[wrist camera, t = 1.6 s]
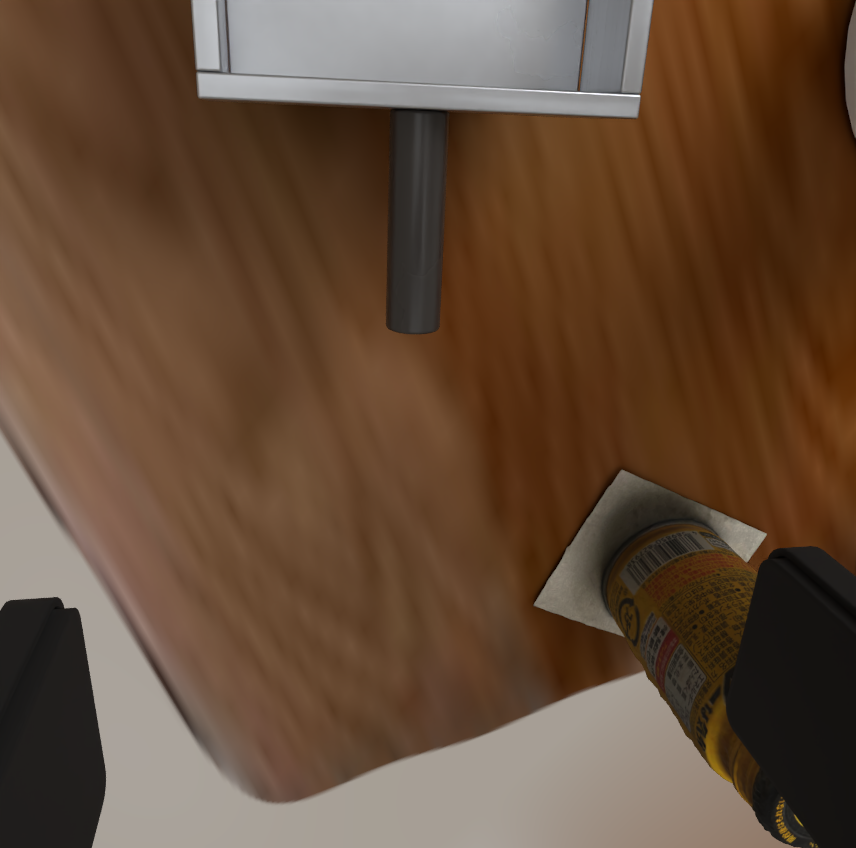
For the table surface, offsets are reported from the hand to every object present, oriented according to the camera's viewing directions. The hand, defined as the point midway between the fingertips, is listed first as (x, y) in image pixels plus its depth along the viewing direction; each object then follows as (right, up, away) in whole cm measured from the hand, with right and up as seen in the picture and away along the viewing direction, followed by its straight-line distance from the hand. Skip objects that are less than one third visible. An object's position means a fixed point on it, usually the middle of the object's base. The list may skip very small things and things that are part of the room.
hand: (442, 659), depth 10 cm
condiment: (+10, -3, +23) cm, 26 cm away
